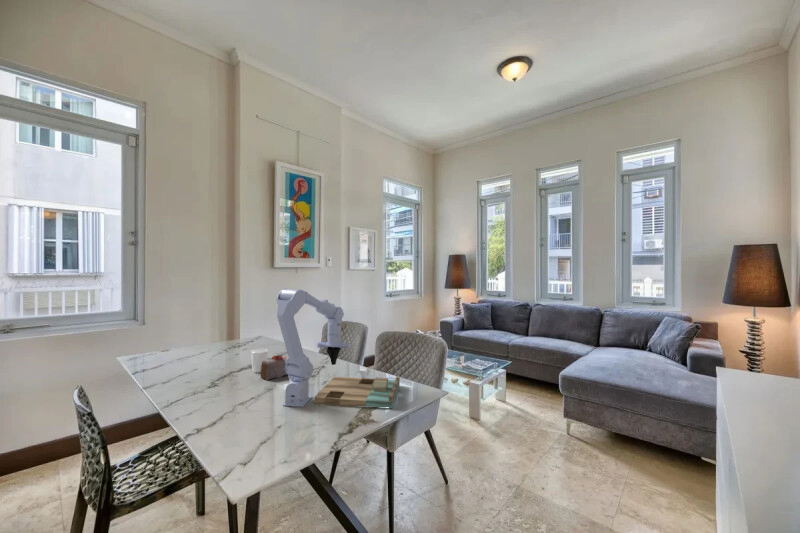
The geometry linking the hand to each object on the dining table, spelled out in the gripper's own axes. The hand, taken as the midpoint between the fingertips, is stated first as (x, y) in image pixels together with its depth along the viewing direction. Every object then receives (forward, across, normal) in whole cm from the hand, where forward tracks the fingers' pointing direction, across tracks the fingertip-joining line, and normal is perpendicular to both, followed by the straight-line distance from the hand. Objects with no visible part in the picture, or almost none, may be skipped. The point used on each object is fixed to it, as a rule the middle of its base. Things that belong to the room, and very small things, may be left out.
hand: (333, 364), depth 144 cm
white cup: (+10, +43, -14) cm, 46 cm away
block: (+7, -23, +8) cm, 25 cm away
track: (+9, -14, +8) cm, 19 cm away
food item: (+10, +30, -8) cm, 33 cm away
